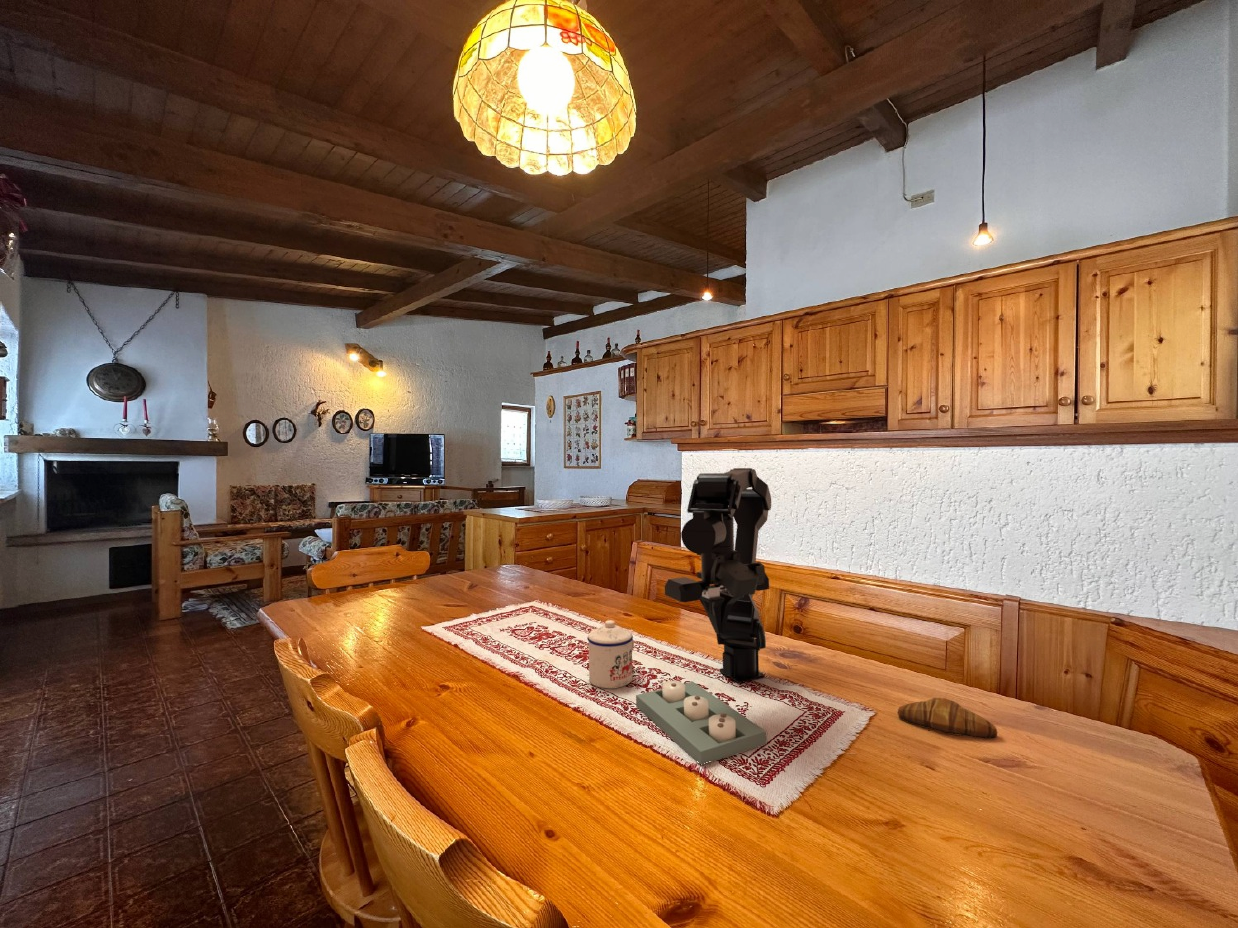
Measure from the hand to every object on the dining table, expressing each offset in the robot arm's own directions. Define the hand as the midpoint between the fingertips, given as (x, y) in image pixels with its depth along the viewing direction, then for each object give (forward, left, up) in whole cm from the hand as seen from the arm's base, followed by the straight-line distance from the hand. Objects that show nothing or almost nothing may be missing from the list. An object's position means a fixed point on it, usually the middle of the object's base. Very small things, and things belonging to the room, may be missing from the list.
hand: (718, 633), depth 91 cm
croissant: (-28, +22, -14) cm, 38 cm away
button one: (+7, -4, -13) cm, 15 cm away
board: (+7, +3, -13) cm, 15 cm away
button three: (+7, +10, -13) cm, 18 cm away
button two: (+7, +3, -12) cm, 15 cm away
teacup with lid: (+11, -20, -13) cm, 26 cm away
